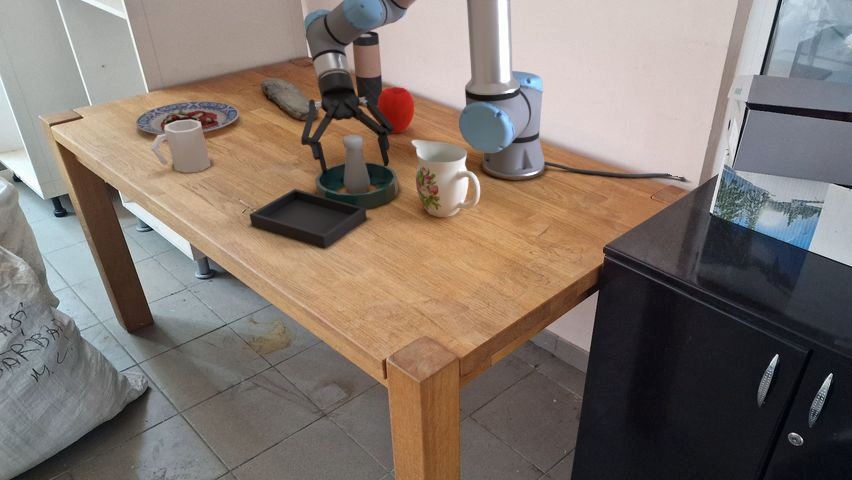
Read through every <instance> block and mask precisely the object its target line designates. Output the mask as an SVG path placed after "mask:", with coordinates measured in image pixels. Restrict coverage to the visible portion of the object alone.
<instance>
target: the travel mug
mask: <svg viewBox="0 0 852 480" xmlns="http://www.w3.org/2000/svg"><path fill="white" fill-rule="evenodd" d="M379 38H380V37H379V33H378V32H376V31H373V30H371V31H369V32H366V33H364V34H362V35H361V36H360V37H358V38H357V39H355V40H354V41H353V42H352V53H353V66H354V77H355V84H356V93H357V97H358V98H361V97H365V96H366V94H370V95H371V98H372V100H373V103H374V104H375V105H376V106H378V99H379V96H380V94H381V92H382V91H383V81H382V80H383V76H382V62H381V50H380V49H381V48H380V39H379ZM359 106H362V107H364V106H363V105H362V104H359Z"/></svg>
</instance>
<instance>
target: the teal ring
mask: <svg viewBox="0 0 852 480" xmlns="http://www.w3.org/2000/svg"><path fill="white" fill-rule="evenodd" d="M365 164H366V168H367V171H368V175H369V179H370V185H372V186H376V188H377V189H375V190H372V191H367V192H366V193H358V194H350V193H349V192H338V190H340V189H341V188H343V187H345V185H344V172H345V162H342V163H337V164H335V165H334V164H333V165H330V166H328V167H327V174H326V175H323V173H322V170H321V171H320V172H318V174H317V175H316V177H315V187H316V195H319V196H323V197H326V198H330V199H334V200H337V201H341V202H345V203H348V204H352V205H356V206H359V207H363V208H366V210H367V209H374V208H377V207H379V206H382V205H385V204H388V203H389V202H390V201H392V200H393V199H395V198H396V197H397V194H398V192H399V183H398V182H399V181H398V175H397V173H396V170H395V169H393V168H391V167H390V166H389V165H388V166H384V163H383V164H382V163H378V162H374V161H365Z"/></svg>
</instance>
